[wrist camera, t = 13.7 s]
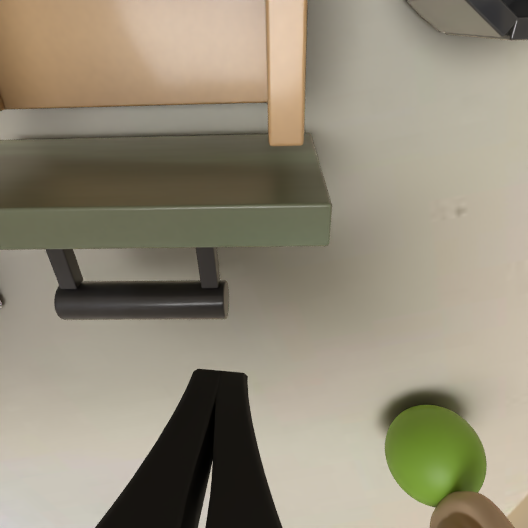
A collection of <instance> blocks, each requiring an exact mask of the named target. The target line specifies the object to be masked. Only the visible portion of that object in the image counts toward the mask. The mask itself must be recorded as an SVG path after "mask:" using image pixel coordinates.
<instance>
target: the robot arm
mask: <svg viewBox="0 0 528 528" xmlns="http://www.w3.org/2000/svg"><path fill="white" fill-rule="evenodd" d="M1 307H2V303H1V301H0V308H1ZM247 380H248V376H247V375H245V374H244V373H239V372H227V371H216V370H205V369H197V370H195V371H194V372H193V374H192V377H191V379H190V382H189V384H188V386H187V388H186V390H185V392H184V394H183V396H182V398H181V400H180V402H179V404H178V406H177V408H176V409H175V411H174V413H173V415H172V417H171V418H170V420H169V422H168V423H167V425H166V427H165V428H164V430H163V432H162V433H161V435H160V437H159V438H158V440H157V442H156V443H155V445H154V446H153V448H152V450H151V451H150V452H149V454H148V455H147V457H146V458H145V460H144V461H143V463H142V464H141V466H140V467H139V469H138V470H137V472H136V473H135V475H134V476H133V478H132V479H131V481H130V482H129V483H128V485H127V486H126V487H125V489H124V490H123V492H122V493H121V494H120V496H119V497H118V498H117V500H116V501H115V502H114V504H113V505H112V506H111V508H110V509H109V510H108V512H107V513H106V514H105V515H104V517H103V518H102V519H101V521H100V522H99V523H98V524H97V526H96V527H95V528H198V524H199V519H200V515H201V510H202V506H203V501H204V497H205V492H206V488H207V483H208V479H209V474H210V470H211V465H212V461H213V466H212V482H211V492H210V501H209V508H208V515H207V521H206V528H282V525H281V522H280V520H279V517H278V514H277V511H276V508H275V505H274V502H273V499H272V496H271V493H270V489H269V486H268V483H267V479H266V476H265V473H264V469H263V465H262V462H261V458H260V454H259V450H258V446H257V441H256V437H255V433H254V428H253V423H252V418H251V412H250V406H249V398H248V384H247Z"/></svg>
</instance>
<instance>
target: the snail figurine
mask: <svg viewBox="0 0 528 528" xmlns="http://www.w3.org/2000/svg"><path fill="white" fill-rule="evenodd" d="M385 455H386V460H387V464H388V467H389V469H390V471H391V474H392V475H393V477H394V479H395V480H396V482H397V483H398V484H399V486H400V487H401V488H402V489H403V490H404V491H405V492H406V493H407V494H408V495H410V496H411V497H412V498H414V499H415V500H417V501H419V502H421V503H423V504H425V505H428V506H432V507H436V508H435V510H434V512H433V514H432V516H431V521H430V528H514V526H513V525H512V524H511V522H510V521H509V520H508V519H507V517H506V516H505V515H504V514H503V512H502V511H501V510H500V509H499V508H498V507H497V506H496V505H495V504H494V503H493V502H492V501H491V500H490V499H488V498H487V497H485V496H484V495H482V494H479V493H478V492H479V490H480V488H481V487H482V485H483V482H484V479H485V475H486V456H485V452H484V448H483V445H482V443H481V441H480V439H479V437H478V435H477V434H476V432H475V431H474V429H473V428H472V427H471V426H470V425H469V424H468V423H467V422H466V421H465V420H464V419H463V418H462V417H460V416H459V415H458V414H456V413H454V412H453V411H451V410H449V409H446V408H443V407H440V406H436V405H418V406H414V407H411V408H408V409H406V410H405V411H403V412H402V413H400V414H399V415H398V416H397V417H396V418H395V419H394V420H393V422H392V423H391V425H390V427H389V429H388V432H387V435H386V440H385Z"/></svg>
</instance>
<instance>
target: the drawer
mask: <svg viewBox="0 0 528 528" xmlns="http://www.w3.org/2000/svg"><path fill="white" fill-rule="evenodd" d="M307 2H308V0H0V111H2V110H4V109H37V108H76V107H114V106H152V105H190V104H228V103H266V102H268V134H248V135H205V136H161V137H118V138H74V139H30V140H0V250H18V249H46V252H47V254H48V257H49V259H50V262H51V265H52V267H53V270H54V273H55V275H56V278H57V280H58V283H59V287H58V289H57V291H56V294H55V310H56V313H57V315H58V316H59V317H60V318H61V319H64V320H123V319H226V318H227V316H228V311H229V288H228V283H227V281H226V280H220V272H219V263H218V254H217V247H283V246H328V244H329V242H330V227H331V213H332V204H331V200H330V197H329V193H328V190H327V187H326V183H325V180H324V176H323V173H322V170H321V166H320V163H319V159H318V156H317V153H316V149H315V146H314V142H313V139H312V135H311V134H310V133H304V120H305V81H306V41H307ZM195 247H196V253H197V260H198V267H199V274H200V281H83V277H82V275H81V272H80V269H79V266H78V263H77V260H76V257H75V254H74V251H73V249H106V248H195Z"/></svg>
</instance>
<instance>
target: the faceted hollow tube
mask: <svg viewBox="0 0 528 528" xmlns="http://www.w3.org/2000/svg"><path fill="white" fill-rule="evenodd" d="M407 2H408V3H409V4H410V5H411V6H412V7H413V8H414V10H415V11H416V12H417V13H418V14H419V15H420V16H421V17H422V18H423V19H425V20H426V21H427V22H429V23H430V24H431V25H432V26H433V27H434V28H435V29H437V30H438V31H439V32H445V34H447V35H458V36H469V37H479V38H490V39H500V40H511V41H512V40H528V0H407Z"/></svg>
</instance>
